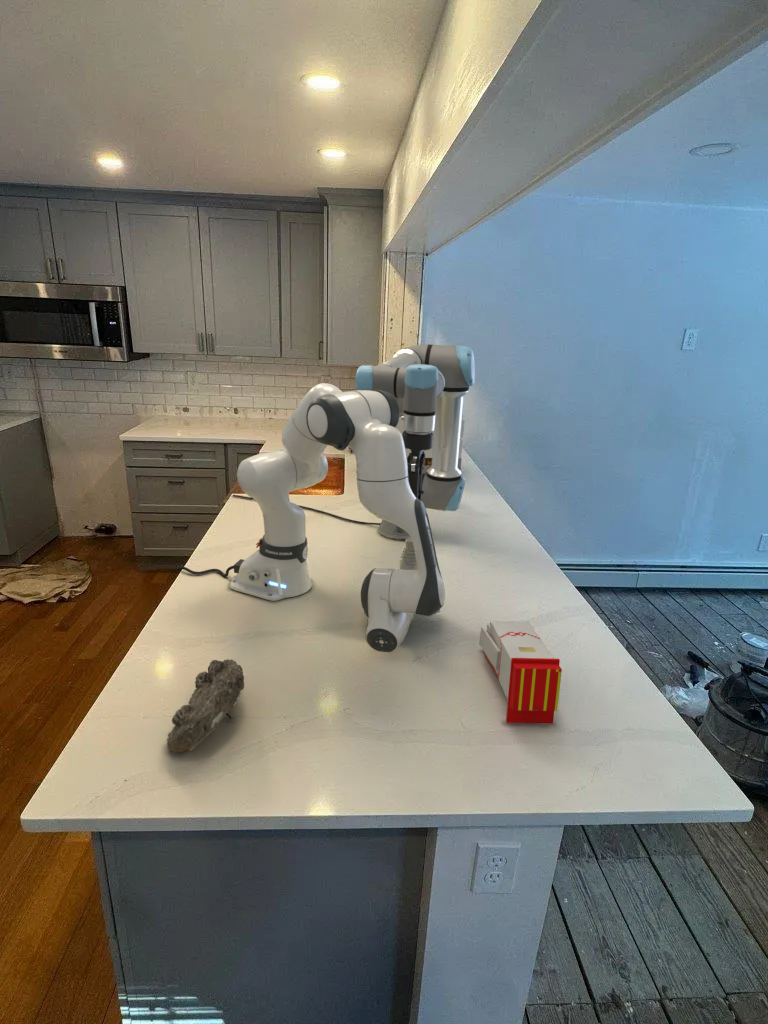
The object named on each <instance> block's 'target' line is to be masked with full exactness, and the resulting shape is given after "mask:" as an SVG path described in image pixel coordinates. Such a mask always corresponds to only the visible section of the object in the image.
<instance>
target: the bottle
mask: <svg viewBox="0 0 768 1024" xmlns="http://www.w3.org/2000/svg"><path fill="white" fill-rule="evenodd" d="M404 541H405V545H404V548H403V550H402V553H401V556H400V559H399V568H398V569H403V570H419V569H418V564H417V559H416V555H415V550H414V545H413V541H412V538H407V539H406V540H404Z"/></svg>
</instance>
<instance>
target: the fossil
mask: <svg viewBox="0 0 768 1024" xmlns="http://www.w3.org/2000/svg"><path fill="white" fill-rule="evenodd" d="M243 670H244V669H243V667H242V665H240V664H237V662H236V661H235V660H234V659H232V658H231V659H227V658H226V659H224V660H223V661H222V660H217V659H212V660H211V661H210V663H209V665H208V666H207V671H201V672H199V673H198V674H197V675H196V676H195V680H194V684H195V685H194V687H195V689H194V690H193V693H192V694H191V697H190V698H189V700H188V704H184V705H182V706H181V707H180V709H177V710H176V711H175V713H174V715H173V716H172V718H171V723H172V724H173V727H172V730H171V731H170V732H168V734H167V738H166V741H167V742H166V745H167V749H168V750H169V751H173V752H174V753H176V754H178V753H182V752H188V751H189V752H192V751H193V750H195V748H196V747H197V746H199V744H200V743H201V742H203V741H204V740H205V739H206V738H207V737H208V736H209V735H210V734H211V733H212V732H214V730H215V729H217V727H218V726H219V724H220V722H221V721H222V720H223V719H224V718H225V716H226V717H227V719H229V720H233V717H232V715H230V714H229V710H230V709H231V708H234V706H235V704H236V703H237V702H238V699H239V697H240V695H241V693H242V691H243V690H245V689H244V688H245V675H244V671H243Z"/></svg>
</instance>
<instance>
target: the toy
mask: <svg viewBox="0 0 768 1024" xmlns="http://www.w3.org/2000/svg"><path fill="white" fill-rule="evenodd" d="M478 642H479V643H478V644H479V646H480V647H481V650H482V651H483V654H484V655H485V657H486V659H487V661H488V663H489V664H490V666H491V669H492V670H493V672H494V674H495V676H496V678H497V679H498V682H499V684H500V687H501V688H502V691H503V693H504V695H505V697H506V699H507V706H506V717H505V722H506V724H547V725H549V724H551V725H553V724H554V718H555V712H558V711H559V710H558V709H559V698H560V689H561V682H562V681H561V680H562V672H563V671H562V667H561V666H560V663H561V659H560V658H554V656H553V654H552V653H551V651H550V650H549V649H548V647H547V646H546V644H545V643H544V642H543V640H542V638H540V636H539V635H538V633H537V631H536V630H535V627H534V626H532V625H531V623H530V622H529V620H528V621H527V620H526V621H525V620H524V621H523V620H490V621H489V622H487V623H486V628H485V626H480V634H479V641H478Z"/></svg>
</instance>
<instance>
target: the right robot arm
mask: <svg viewBox="0 0 768 1024" xmlns="http://www.w3.org/2000/svg"><path fill="white" fill-rule="evenodd" d="M475 375H476V364H475V355H474V351H473V349H472V348H471V347H469V346H462V345H455V344H454V345H451V344H450V345H449V344H430V343H421V344H416V345H411V346H408V347H405V348H402V349H400V350H398V351H396V352H395V353H394V355H393V356H392V357H391V358H390V359H388V360H386V361H383V362H382V363H380V364H378V365H371V364H369V365H360V366H359V367H358V368H357V371H356V374H355V390H368V391H369V390H381V391H385V392H387V393H389V394H391V395H392V396H393V397H395V398H404V416H402V417H401V420H404V422H403V429H404V430H405V431H404V432H403V433H402V437H403V441H404V445H405V448H406V449H410V450H411V453H409V455H408V480H409V485H410V488H411V490H412V492H413V494H414V495H415V497H416V498H417V499H419V500H420V501H422V502H423V504H424V506H425V508H426V509H428V510H429V509H430V510H437V511H443V512H456V511H457V510H458V509H459V508H460V504H461V501H462V498H463V493H464V489H465V484H466V478H465V477H462V470H461V471H460V470H459V469H458V467H457V466H458V454H459V442H460V439H461V438H460V430H461V419H463V408H464V407H463V405H464V396H465V395H467V393H468V392H469V391H470V387H473V386H474V385H475V379H476V376H475ZM435 406H436V410H435ZM432 431H434V434H433V433H432ZM433 437H434V440H433ZM432 447H433V454H432V465H430V466H429V467H428V468H427V469H426V473H424V472H423V471H424V469H425V468H424V467H425V466H424V461H425V453H424V451H423V450H429V449H431V448H432ZM232 497H233V498H234V497H235V498H241V499H245V500H254V499H253V498H252V497H250V496H244V495H238V494H232ZM254 501H255V500H254ZM297 505H298V506H300V507H301V508H302V509H305V510H310V511H312V512H317V513H321V514H324V515H328V516H331V517H334V518H336V519H340V520H343V521H347V522H352V523H355V524H361V525H367V526H368V525H371V526H378V533H379V534H380V535H381V536H382V537H385V538H387V539H389V540H395V541H405V540H406V539H407V538H411V537H410V535H409V534H408V533H407V532H406V531H405V530H404V529H402V528H400V527H399V526H397V525H395V524H393V523H390V522H388V521H385V520H382V519H381V522H367V521H359V520H356V519H350V518H347V517H342V516H339V515H337V514H334V513H331V512H328V511H327V512H326V511H324V510H319V509H317V508H313V507H308V506H303V505H299V504H297Z"/></svg>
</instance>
